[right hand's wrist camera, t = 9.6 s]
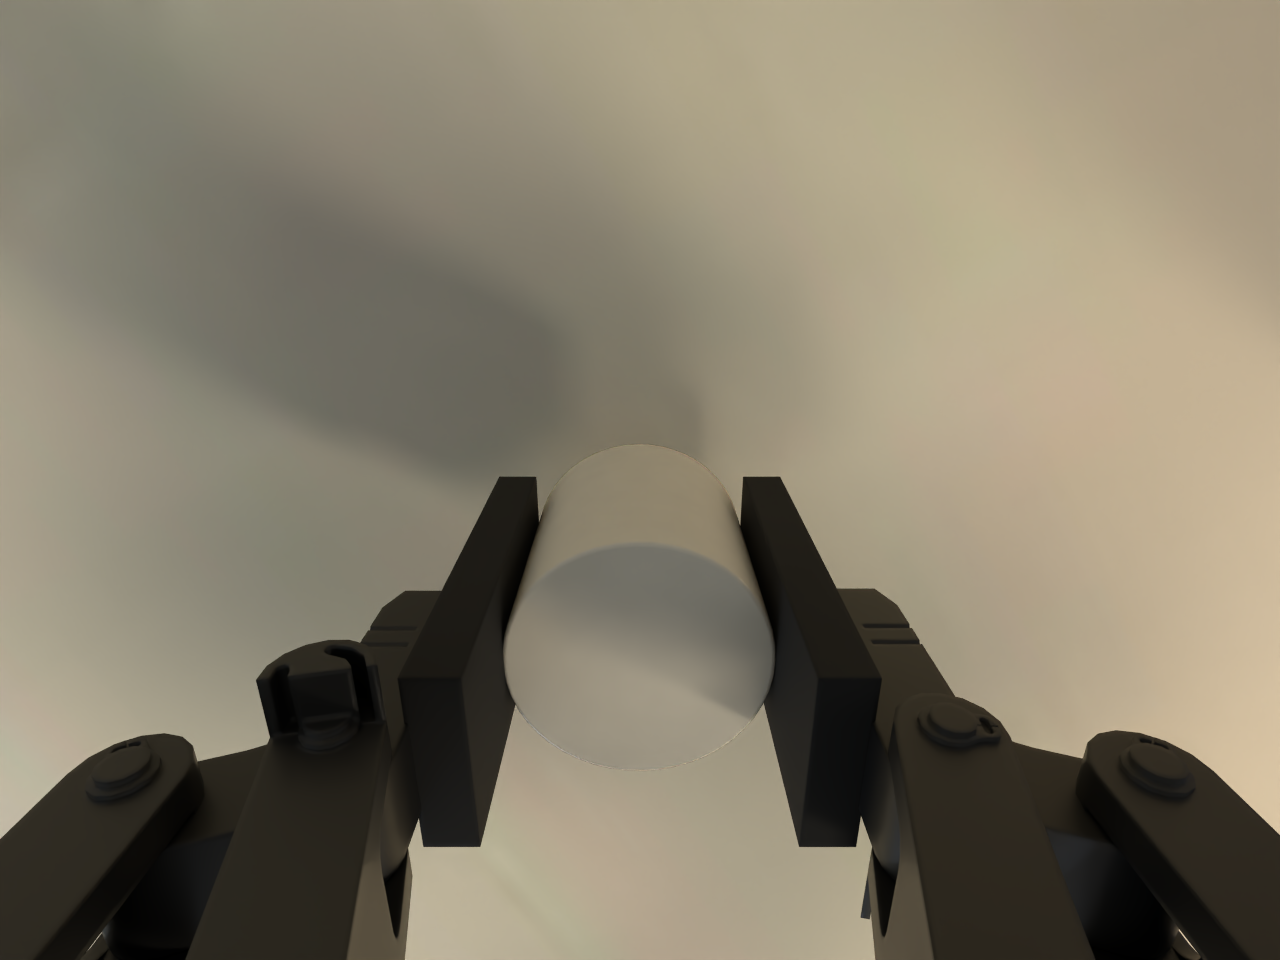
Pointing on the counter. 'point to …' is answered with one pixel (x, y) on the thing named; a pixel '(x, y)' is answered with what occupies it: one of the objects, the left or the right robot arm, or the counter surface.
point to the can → (639, 615)
